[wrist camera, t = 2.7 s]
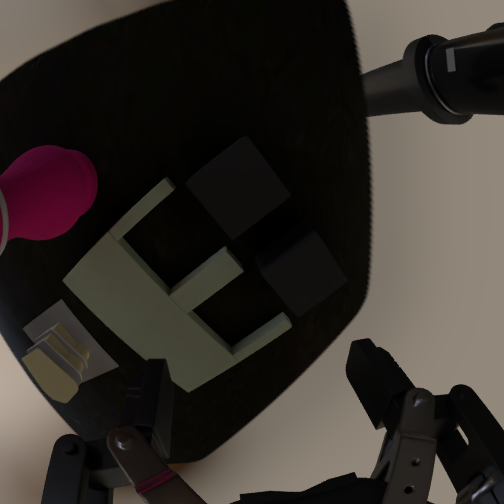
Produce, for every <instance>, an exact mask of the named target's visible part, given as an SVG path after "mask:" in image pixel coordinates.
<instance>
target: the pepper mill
mask: <svg viewBox="0 0 504 504" xmlns="http://www.w3.org/2000/svg"><path fill="white" fill-rule="evenodd" d="M97 189H98V179H97V173H96V170H95V167H94V165H93V163H92V162H91V160H90V159H89V158H88V157H87V156H86V155H85V154H83V153H81V152H79V151H76V150H66V149H64V148H61V147H59V146H55V145H45V146H40V147H36V148H33V149H31V150H29V151H27V152H26V153H24V154H23V155H21V156H20V157H19V158H17V159H16V160H15V161H14V162H13V163H12V164H11V166H10V167H9V168H8V169H7V170H6V171H5V172H4V173H3V174H2V175H0V255H1V254H2V252H3V250H4V248H5V245H6V242H7V241H8V240H10V239H12V238H14V237H22V238H27V239H31V240H45V239H51V238H54V237H57V236H59V235H61V234H63V233H65V232H66V231H68V230H69V229H70V228H71V227H72V226H73V225H74V224H75V223H76V221H77V220H78V218H79V216H81V215H83V214H84V213H85V212H87V211H88V209H89V208H90V207H91V206H92V204H93V202H94V200H95V198H96V194H97Z"/></svg>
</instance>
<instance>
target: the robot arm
mask: <svg viewBox="0 0 504 504" xmlns="http://www.w3.org/2000/svg"><path fill="white" fill-rule="evenodd" d="M423 71H424V76H425V79H426V82H427V85H428V87H429V89H430V92H431V93H432V95H433V97H434V98H435V100H436V101H437V102H438V104H439V105H440V106H441V107H442V108H443V109H445V110H446V111H448V112H449V113H451V114H455V115H464V114H488V115H489V114H490V115H504V22H503V23H496V24H494V25H492V26H491V27H489V28H488V29H487V30H486V31H485V32H480V33H476V34H471V35H467V36H463V37H459V38H455V39H451V40H448V41H444V42H439V43H435V44H432V45H430V46H429V47H428V48H427V49H426V51H425V53H424V56H423ZM346 375H347V378H348V380H349V382H350V384H351V385H352V387H353V389H354V391H355V393H356V394H357V396H358V398H359V400H360V402H361V403H362V405H363V407H364V409H365V411H366V413H367V414H368V416H369V418H370V420H371V422H372V424H373V425H374V427H375V429H376V430H377V429H380V428H383V427H385V428H386V430H387V432H386V433H385V437H384V440H383V444H382V447H381V451H380V454H379V457H378V460H377V464H376V467H375V469H374V471H373V473H372V475H371V477H370V478H357V476H356V474H355V472H352V473H349V474H346V475H342V476H339V477H335V478H331V479H328V480H326V481H324V482H322V483H320V484H318V485H316V486H314V487H311V488H309V489H307V490H305V491H302V492H283V491H265V492H256V493H247V494H240V500H239V501H235V502H233V503H230V504H434V503H431V502H429V501H427V499H428V495H429V490H430V485H431V480H432V474H433V469H434V462H435V455H436V454H437V456H438V458H439V459H440V461H441V463H442V465H443V467H444V469H445V471H446V472H447V474H448V476H449V478H450V480H451V482H452V484H453V486H454V488H455V490H456V492H457V494H458V495H457V498H456V504H504V430H503V429H502V427H501V426H500V424H499V423H498V422H497V420H496V419H495V418H494V416H493V415H492V414H491V412H490V411H489V410H488V408H487V407H486V406H485V404H484V403H483V402H482V400H481V399H480V398H479V397H478V395H477V394H476V393H475V392H474V390H473V389H472V388H470V387H469V386H466V385H463V384H459V385H455V386H454V387H453V388H452V389H451V391H450V393H449V394H445V395H432V393H431V392H429V391H428V390H426V389H424V388H416V387H415V386H414V385H413V383H412V382H411V381H410V379H409V378H408V377H407V376H406V374H405V373H404V371H403V370H402V369H401V368H400V367H399V365H398V364H397V362H395V361H394V359H393V357H392V356H391V355H390V354H389V352H387V351H386V350H384V349H383V348H381V347H376V346H375V345H374V343H373V342H372V341H371V339H369V338H366V339H360V340H355V341H353V342H352V343H351V347H350V351H349V355H348V359H347V364H346ZM173 397H174V392H173V384H172V380H171V376H170V372H169V368H168V364H167V360H166V359H165V358H149V359H148V360H147V364H146V368H145V370H137V371H136V372H135V373H134V374H133V376H132V377H131V378H130V381H129V385H128V390H127V392H126V398H125V400H124V404H123V408H122V413H121V417H120V421H119V425H118V428H116V429H114V430H113V431H112V432H111V433H110V434H109V435H108V437H107V438H104V439H100V440H93V441H86V442H85V441H84V440H83V439H82V438H81V437H80V436H78V435H74V434H66V435H63V436H61V437H60V438H59V439H57V441H56V442H55V444H54V447H53V451H52V455H51V459H50V463H49V467H48V471H47V476H46V481H45V485H44V490H43V496H42V501H41V504H113V489H114V487H121V486H127V485H133V486H134V488H135V489H136V491H137V493H138V494H139V496H140V497H141V498H142V500H143V501H144V502H145V504H207V503H206V502H205V501H204V500H203V499H202V498H201V497H200V496H199V495H198V494H196V492H195V491H194V490H193V489H192V488H191V487H190V486H189V485H188V484H187V483H186V482H185V481H184V480H183V479H182V478H181V477H180V476H179V475H178V474H177V473H176V472H175V471H172V470H171V469H170V468H169V467H168V465H167V464H166V463H165V462H164V461H163V460H162V458H167V459H169V454H170V436H171V422H172V409H173ZM459 426H460V427H461V429H462V430H463V432H464V433H465V435H466V437H467V438H468V442H469V444H468V445H467V443H466V442H465V440H464V439H463V437H462V436H461V434H460V432H459V431H458V429H457V428H458V427H459Z"/></svg>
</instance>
